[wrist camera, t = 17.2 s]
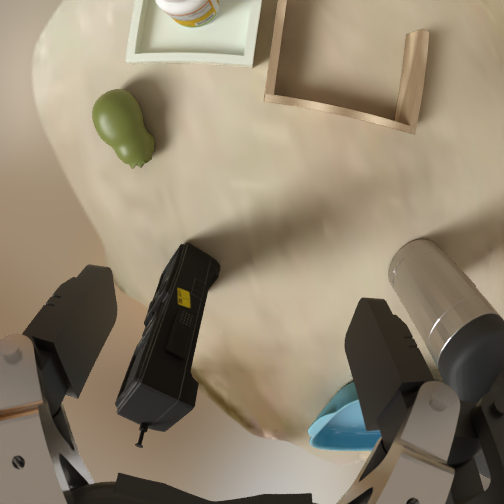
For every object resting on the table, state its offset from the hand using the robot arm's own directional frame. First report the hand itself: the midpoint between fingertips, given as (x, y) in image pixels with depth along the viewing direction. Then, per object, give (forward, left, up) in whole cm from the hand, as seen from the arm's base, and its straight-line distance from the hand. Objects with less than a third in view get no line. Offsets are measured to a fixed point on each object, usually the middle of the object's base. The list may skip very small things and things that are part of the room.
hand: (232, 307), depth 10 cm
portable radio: (+6, +16, -28) cm, 33 cm away
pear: (+15, -2, -28) cm, 32 cm away
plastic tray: (+8, -17, -28) cm, 34 cm away
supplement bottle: (+8, -17, -28) cm, 33 cm away
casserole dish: (-35, +47, -29) cm, 65 cm away
